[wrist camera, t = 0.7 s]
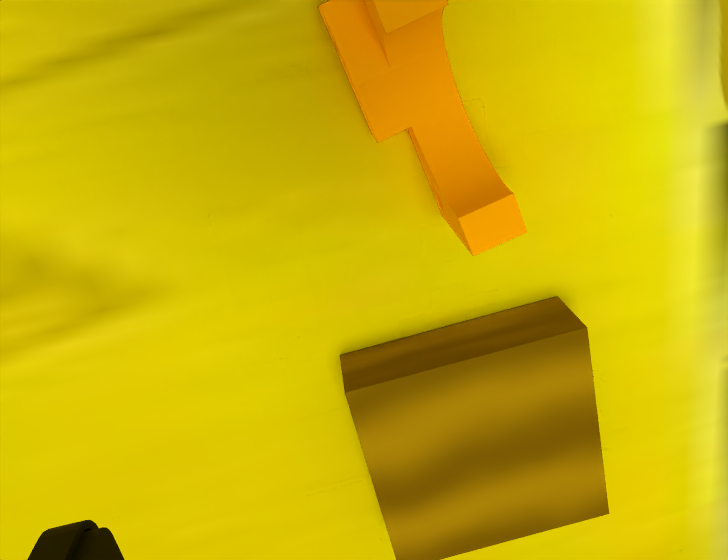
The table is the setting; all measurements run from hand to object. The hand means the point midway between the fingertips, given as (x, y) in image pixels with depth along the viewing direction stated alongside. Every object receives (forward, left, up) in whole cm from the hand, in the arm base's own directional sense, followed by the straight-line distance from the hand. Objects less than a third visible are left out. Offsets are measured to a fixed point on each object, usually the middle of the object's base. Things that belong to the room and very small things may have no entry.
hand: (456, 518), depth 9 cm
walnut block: (+18, +4, -25) cm, 31 cm away
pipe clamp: (-2, +4, -26) cm, 26 cm away
